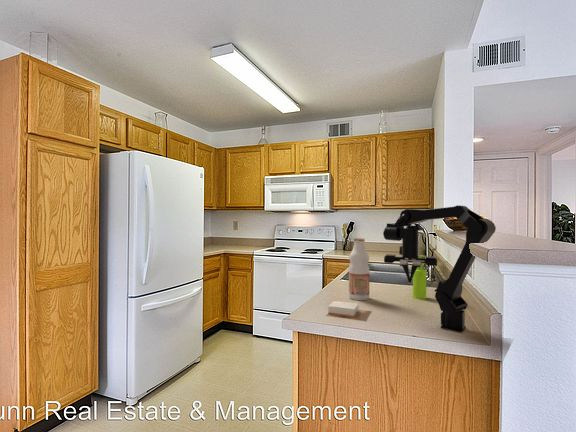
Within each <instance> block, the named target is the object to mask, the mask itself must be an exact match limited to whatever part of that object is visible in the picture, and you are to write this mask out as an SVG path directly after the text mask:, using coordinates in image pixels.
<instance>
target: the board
mask: <svg viewBox="0 0 576 432" xmlns="http://www.w3.org/2000/svg"><path fill="white" fill-rule="evenodd" d="M371 313H372V310H371V311H370V310H365V309H364V310H363V309H358V313H357V314H356V315H355V317H349V316H341V315H334V314H328V313H327V314H326V315H325V317H332V318H339V319H346V320H347V319H348V320H355V321H361V322H367V320H368V318H369V317H370V315H371Z"/></svg>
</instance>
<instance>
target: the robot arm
mask: <svg viewBox="0 0 576 432" xmlns="http://www.w3.org/2000/svg"><path fill="white" fill-rule="evenodd" d="M451 218H452V219H455V218H456V219H457V220H458V221H459V222H460V223H461V224H462V226H464V227H465V228H467V230H466V232H465V243H464V245H463V248H462V250H461V252H460V254H459V256H458V258H457V259H456V262H455V264H454V265H453V267H452V269H451V272H450V274H449V276H448V278H447V279H443V280H439V282H438V284H437V287H436V288H435V290H434V292H435V294H434V298H435V300H436V302H437V303H438V305H439V306H438V307H439V309H440V311H441V313H440V325H441V326H440V328H441V329H444V330H448V331H453V332H458V333H462V331H463V330H464V331H465V330H466V328H467V326H466V324H465V323H466V322H465V319H466V318H465V317H466V315H465V313H466V312H465V310H466V309H467V307H468V306H469V305H468V303H467V301H466V300H465V299H464V298H463V297H462V293H463V283H464V281H465V279H466V277H467V275H468V273H469V271H470V269H471V267H472V265H473V263H474V261H475V259H476V258H477V256H476V257H475V256H473V255H472V254H471V253H470V249H469V244H470V243H484V242H486V243H487V242H488V241H489V240H490V239H491V237H492V236H493V235H494V234H495V232H496V225H495V223H494V222H493V221H492V220H491V219H486V218H485V217H483V216H481V215H480V214H478V213H476V212H475V211H473V210H471V209H470V208H468V206H465V205H455V206H450V207H449V206H448V207H439V208H431V209H414V208H413V209H411V208H405V209H402V210H401V212H400V215H399V217H398V218H397V220H396V221H395V222H394V223H386V226H385V228H384V230H383V234H382V235H383V238H384V239H385V240H387V241H397V242H398V241H399V242H400V241H401V243H402V245H401V246H399V252H398V254H399V255H400V256H396V254H389V253H387V254H386V255H385V256H384V258H383V263H386V264H393V263H394V262H399V267H402V268H403V271H404V272H405V275H406V279H407V282H408V283H412V282H413V275H414V273H415V271H416V269H417V267H420V264H421V263H423V264H426V265H427V266H433V267H436V266H437V267H438V257H436V256H431V255H430V256H428V255H425V256H426V257H422V258H418V255H419V231H424V230H425V228H424V227H423V226H422V225H421V224H420V223H423V222H427V221H429V220H430V221H431V220H441V219H442V220H443V219H451ZM409 263H412V264H411V267H410V268H409V266H410V265H409ZM410 269H411V270H410Z"/></svg>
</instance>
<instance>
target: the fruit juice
mask: <svg viewBox="0 0 576 432" xmlns="http://www.w3.org/2000/svg"><path fill="white" fill-rule="evenodd" d="M353 243H354V245H353V248H352V251H351V252H350V254H349V255H348V258H349V262H350V263H349V266H348V267H349V268H348V297H349V299H350V300H354V301H367V300H369V299H370V266H369V261H370V255H369V253H368V252H367V250H366V246H365V238H361V237H360V238H359V237H356V238H353Z"/></svg>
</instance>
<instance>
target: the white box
mask: <svg viewBox="0 0 576 432" xmlns="http://www.w3.org/2000/svg"><path fill="white" fill-rule="evenodd" d="M358 310H359V303H354V302H346V301H345V302H343V301H338V300H337V301H336V300H334V301H332V302H331V303H330V304H329V305H328V310H327V312H328V313H327V314H334V315H341V316H349V317H355V315H356V314H357V313H358Z"/></svg>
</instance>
